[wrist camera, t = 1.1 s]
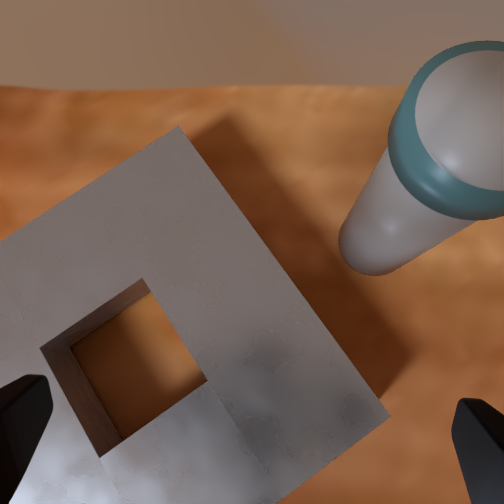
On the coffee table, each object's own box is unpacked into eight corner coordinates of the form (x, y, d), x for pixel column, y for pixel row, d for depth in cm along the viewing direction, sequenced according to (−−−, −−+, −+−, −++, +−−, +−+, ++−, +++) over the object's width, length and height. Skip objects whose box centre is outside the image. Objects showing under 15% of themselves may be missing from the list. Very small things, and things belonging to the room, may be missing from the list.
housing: (374, 406, 21) (391, 416, 18) (81, 627, 20) (47, 677, 17) (189, 151, 25) (178, 125, 22) (-69, 320, 23) (-117, 317, 21)
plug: (431, 250, 23) (629, 134, 10) (366, 297, 22) (487, 238, 10) (379, 188, 24) (500, 11, 11) (316, 232, 23) (367, 101, 11)
